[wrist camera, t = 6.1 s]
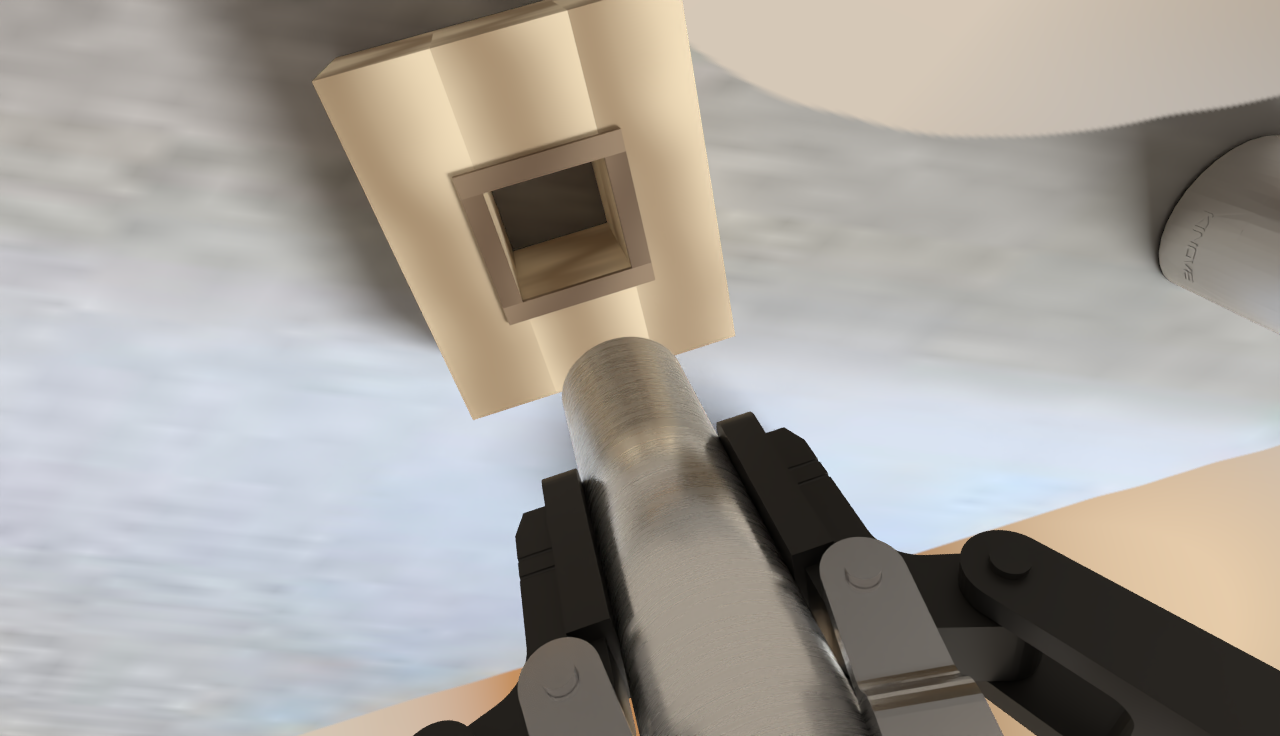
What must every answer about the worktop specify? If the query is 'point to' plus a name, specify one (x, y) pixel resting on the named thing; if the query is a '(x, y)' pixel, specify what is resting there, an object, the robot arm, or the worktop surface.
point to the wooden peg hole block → (530, 148)
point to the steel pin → (693, 562)
